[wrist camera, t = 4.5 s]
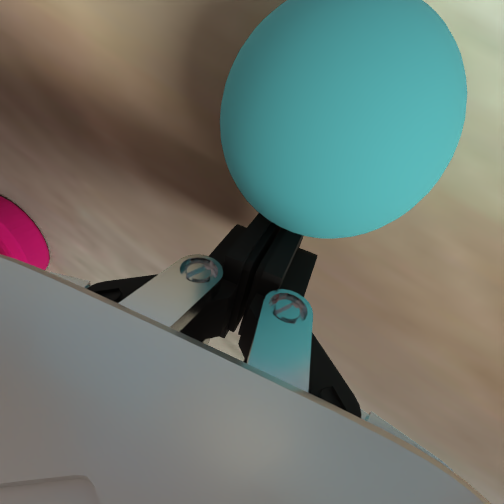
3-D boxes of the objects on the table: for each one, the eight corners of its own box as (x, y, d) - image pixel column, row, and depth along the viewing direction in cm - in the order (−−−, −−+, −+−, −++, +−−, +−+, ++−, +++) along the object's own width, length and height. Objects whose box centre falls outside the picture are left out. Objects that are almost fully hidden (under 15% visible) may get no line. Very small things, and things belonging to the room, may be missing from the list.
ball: (293, 286, 10) (304, 265, 5) (210, 154, 12) (135, 3, 6) (439, 197, 10) (638, 61, 5) (341, 73, 12) (399, -159, 6)
